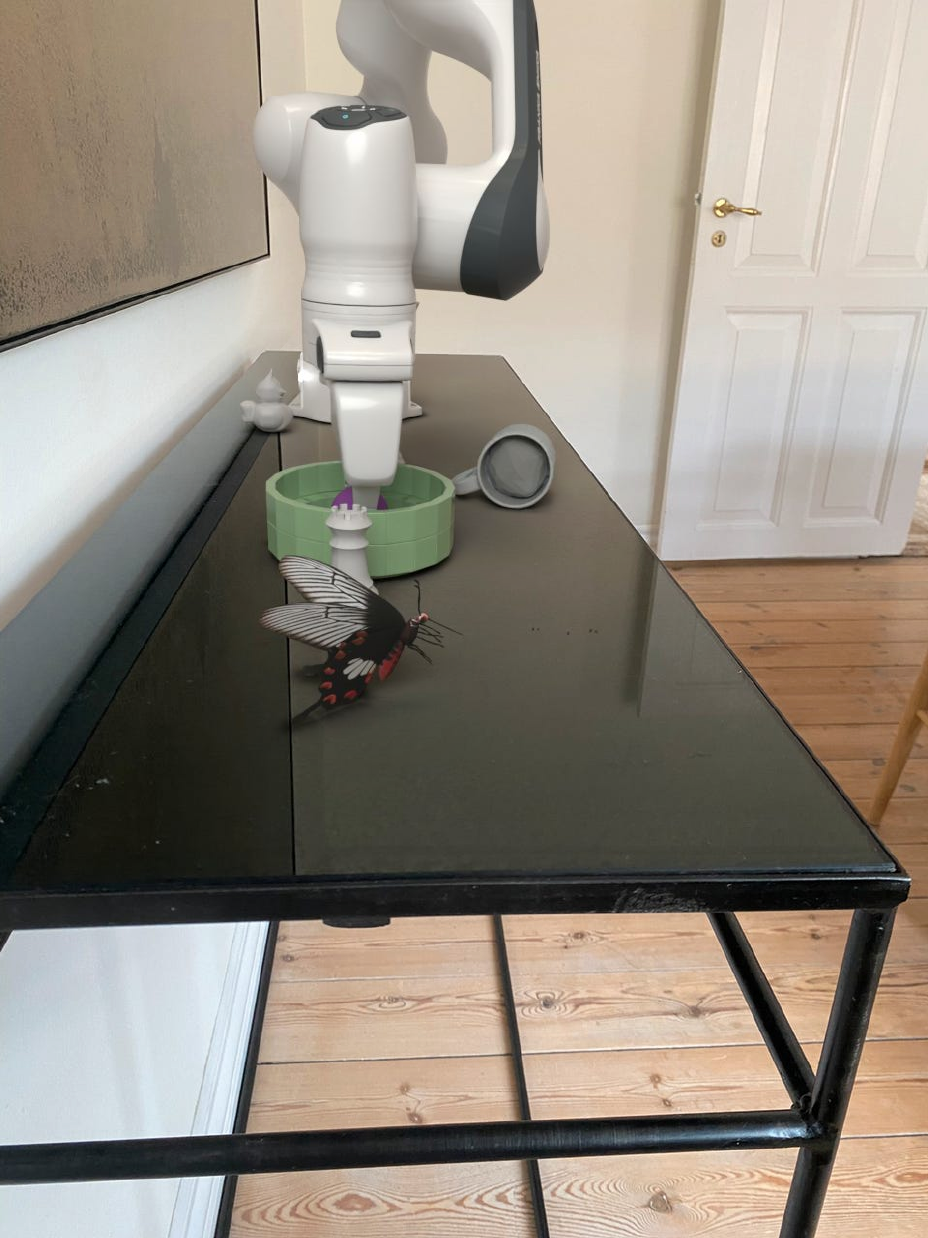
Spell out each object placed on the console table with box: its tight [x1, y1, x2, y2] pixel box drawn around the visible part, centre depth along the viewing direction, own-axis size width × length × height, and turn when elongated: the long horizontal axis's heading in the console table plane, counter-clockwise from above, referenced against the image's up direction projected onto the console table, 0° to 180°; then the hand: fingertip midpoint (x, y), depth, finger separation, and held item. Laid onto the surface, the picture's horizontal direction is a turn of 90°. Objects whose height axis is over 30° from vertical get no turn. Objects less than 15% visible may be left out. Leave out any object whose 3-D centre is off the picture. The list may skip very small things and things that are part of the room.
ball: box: [331, 486, 388, 510], centre depth 79 cm, size 5×5×5 cm
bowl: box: [265, 460, 456, 580], centre depth 79 cm, size 16×16×6 cm
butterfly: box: [258, 555, 464, 725], centre depth 54 cm, size 11×8×10 cm
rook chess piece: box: [325, 504, 380, 596], centre depth 66 cm, size 4×4×8 cm
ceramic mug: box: [450, 423, 557, 509], centre depth 95 cm, size 11×8×8 cm
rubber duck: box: [239, 368, 294, 433], centre depth 117 cm, size 5×7×8 cm
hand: (359, 508), depth 79 cm, fingers open, 8 cm apart
